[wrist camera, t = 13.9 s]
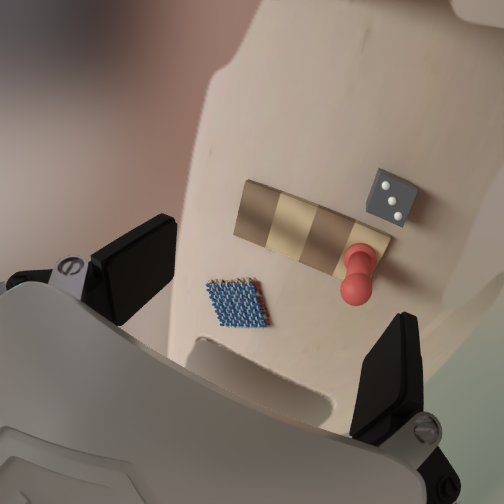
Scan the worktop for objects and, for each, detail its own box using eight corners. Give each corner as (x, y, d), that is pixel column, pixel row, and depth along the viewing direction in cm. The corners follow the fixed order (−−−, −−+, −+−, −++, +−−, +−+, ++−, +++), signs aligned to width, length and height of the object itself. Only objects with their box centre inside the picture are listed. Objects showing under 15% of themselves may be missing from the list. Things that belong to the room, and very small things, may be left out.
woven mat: (273, 323, 51) (269, 330, 49) (225, 322, 56) (220, 328, 54) (258, 274, 48) (254, 280, 46) (208, 277, 53) (202, 283, 51)
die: (378, 167, 33) (380, 173, 29) (412, 182, 32) (418, 190, 27) (366, 202, 35) (365, 213, 31) (398, 216, 34) (402, 229, 30)
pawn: (352, 237, 37) (344, 274, 28) (381, 250, 36) (382, 290, 27) (340, 264, 39) (328, 305, 31) (368, 276, 38) (363, 320, 30)
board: (248, 179, 41) (245, 181, 40) (390, 234, 36) (390, 238, 35) (236, 232, 45) (233, 234, 44) (365, 285, 40) (364, 289, 39)
